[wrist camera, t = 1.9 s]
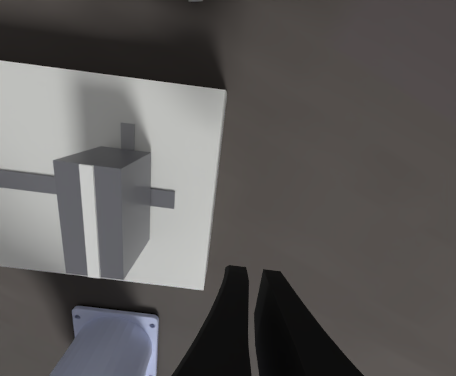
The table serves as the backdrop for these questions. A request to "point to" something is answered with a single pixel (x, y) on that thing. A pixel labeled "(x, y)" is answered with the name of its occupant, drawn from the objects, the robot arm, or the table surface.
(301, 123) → the table surface
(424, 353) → the table surface
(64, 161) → the fader tab
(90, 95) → the white flat rectangular block
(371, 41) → the table surface
